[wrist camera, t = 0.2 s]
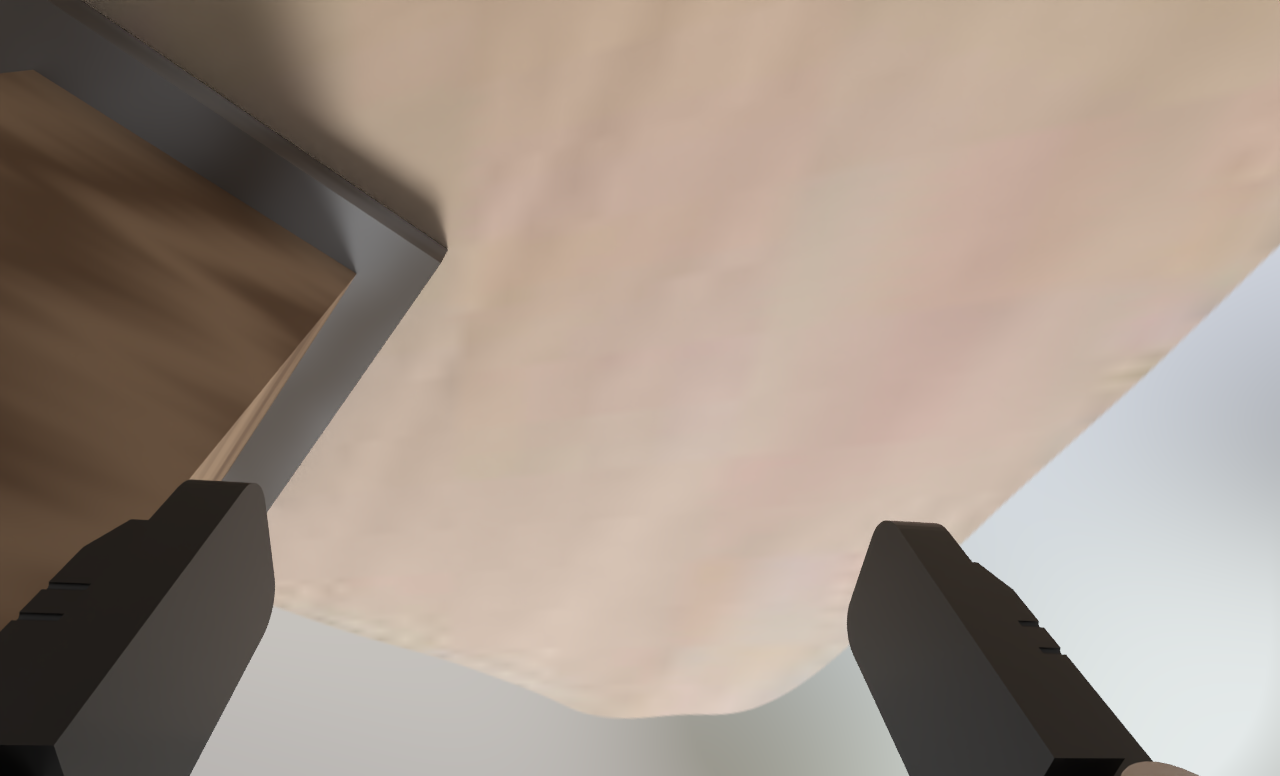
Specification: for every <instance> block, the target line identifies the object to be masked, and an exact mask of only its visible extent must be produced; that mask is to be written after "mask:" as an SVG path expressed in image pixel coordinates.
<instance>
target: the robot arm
mask: <svg viewBox="0 0 1280 776" xmlns="http://www.w3.org/2000/svg"><path fill="white" fill-rule="evenodd" d="M274 594H275V579H274V570H273V562H272V553H271V545H270V537H269V528H268V520H267V512H266V503H265V497H264V493H263V490H262V488H261V487H260V486H259V484H257V483H245V482H228V481H210V480H193V479H190V480H186V481H185V482H183V483H182V484H181V485H180V486H179V487H178V488H177V489H176V490H175V491H174V492H173V493H172V494H171V495H170V497H169V498H168V499H167V500H166V501H165V502H164V503H163V504H162V505H161V507H160V508H159V509H158V510H157V511H156V512H155V513H154V514H153V515H152V517H151V518H150V519H149V520H138V519H130V520H128V521H127V522H125V523H123V524H122V525H120V526H118V527H116V528H115V529H113V530H111V531H110V532H108V533H106V534H104V535H103V536H101V537H99V538H98V539H96V540H94V541H92V542H91V543H89V544H87V545H86V546H84V547H83V548H82V549H81V550H80V551H79V552H78V553H77V554H76V555H75V556H74V557H73V558H72V559H71V560H70V561H69V562H68V563H67V564H66V565H65V566H64V567H63V568H62V569H61V570H60V571H59V572H58V573H57V574H56V575H55V576H54V577H53V578H52V579H51V580H50V581H49V586H48V588H47V589H41V590H40V591H39V592H38V593H37V594H36V595H35V596H34V598H33V599H32V600H31V601H30V602H29V603H28V604H27V605H26V606H25V607H24V608H23V609H22V610H21V611H20V612H19V617H18V619H17V620H11V621H10V622H9V623H8V624H7V625H6V626H5V627H4V628H3V629H2V630H1V631H0V776H190V774H191V772H192V770H193V768H194V766H195V764H196V762H197V760H198V759H199V757H200V755H201V753H202V751H203V749H204V747H205V745H206V743H207V741H208V740H209V738H210V736H211V734H212V732H213V730H214V728H215V726H216V724H217V722H218V721H219V719H220V717H221V715H222V713H223V711H224V709H225V707H226V705H227V703H228V701H229V700H230V698H231V696H232V694H233V692H234V690H235V688H236V686H237V684H238V682H239V681H240V678H241V677H242V675H243V673H244V671H245V669H246V667H247V665H248V663H249V662H250V660H251V657H252V656H253V654H254V652H255V650H256V648H257V646H258V644H259V643H260V641H261V639H262V637H263V635H264V633H265V630H266V628H267V625H268V623H269V619H270V616H271V612H272V608H273V602H274ZM1038 622H1039V621H1038V620H1037V618H1035V616H1034V615H1033V614H1032V612H1031V611H1030V610H1029V609H1028V608H1027V606H1026V605H1025V604H1024V603H1023V601H1022V600H1021V599H1020V598H1019V596H1018V595H1017V594H1016V593H1015V592H1014V590H1013V589H1011V588H1010V587H1009V586H1008V585H1006V584H1005V583H1004V582H1002V581H1001V580H1000V579H998V578H997V577H995V576H994V575H993V574H992V573H990V572H989V571H988V570H987V569H985V568H984V567H982V566H981V565H980V564H979V563H976V562H972V561H971V560H970V559H969V557H968V556H967V555H966V554H965V552H964V551H963V550H962V548H961V547H960V546H959V545H958V543H957V542H956V541H955V539H954V538H953V537H952V536H951V534H950V533H949V532H948V531H947V529H946V528H945V527H943V526H942V525H940V524H937V523H920V522H903V521H883V522H881V523H880V524H879V525H878V526H877V527H876V529H875V531H874V533H873V536H872V539H871V542H870V545H869V548H868V551H867V554H866V556H865V559H864V562H863V565H862V568H861V571H860V574H859V577H858V580H857V583H856V586H855V589H854V592H853V595H852V598H851V601H850V604H849V608H848V615H847V631H848V638H849V643H850V647H851V650H852V652H853V655H854V657H855V659H856V661H857V664H858V666H859V668H860V670H861V672H862V674H863V676H864V679H865V681H866V683H867V685H868V687H869V689H870V692H871V694H872V696H873V698H874V700H875V702H876V705H877V707H878V709H879V711H880V713H881V715H882V717H883V720H884V722H885V724H886V726H887V728H888V730H889V733H890V735H891V737H892V739H893V741H894V743H895V746H896V748H897V750H898V752H899V754H900V756H901V758H902V761H903V763H904V764H905V767H906V769H907V771H908V774H909V776H1198V775H1196V774H1194V773H1192V772H1189V771H1187V770H1185V769H1182V768H1179V767H1176V766H1173V765H1170V764H1165V763H1160V762H1153V761H1152V760H1151V758H1150V757H1149V756H1148V755H1147V754H1146V752H1145V751H1144V750H1143V749H1142V747H1141V746H1140V745H1139V744H1138V743H1137V742H1136V740H1135V739H1134V738H1133V737H1132V735H1131V734H1130V733H1129V732H1128V730H1127V729H1126V728H1125V727H1124V725H1123V724H1122V723H1121V722H1120V720H1119V719H1118V718H1117V717H1116V716H1115V714H1114V713H1113V712H1112V711H1111V709H1110V708H1109V707H1108V706H1107V705H1106V703H1105V702H1104V701H1103V700H1102V698H1101V697H1100V696H1099V695H1098V693H1097V692H1096V691H1095V690H1094V689H1093V687H1092V686H1091V685H1090V684H1089V682H1088V681H1087V680H1086V679H1085V677H1084V676H1083V675H1082V674H1081V673H1080V671H1079V670H1078V669H1077V668H1076V666H1075V665H1074V664H1073V663H1072V662H1071V660H1070V659H1069V658H1068V657H1067V655H1061V653H1060V647H1059V646H1058V644H1057V643H1056V642H1055V641H1054V639H1053V638H1052V637H1051V636H1050V635H1049V633H1048V632H1047V631H1046V630H1045V628H1041V627H1039V625H1038Z"/></svg>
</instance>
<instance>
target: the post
mask: <svg viewBox="0 0 1280 776" xmlns="http://www.w3.org/2000/svg"><path fill="white" fill-rule="evenodd" d="M447 250H448V249H446V248H445V247H443V246H442V245H440V244H439V243H437V242H436V241H435V240H433V239H432V238H430V237H429V236H427V235H426V234H424V233H423V232H421V231H420V230H418V229H417V228H415V227H414V226H412V225H411V224H410V223H408V222H407V221H405V220H404V219H402V218H401V217H399V216H398V215H396V214H395V213H393V212H392V211H390V210H389V209H387V208H386V207H384V206H383V205H382V204H380V203H379V202H377V201H376V200H374V199H373V198H371V197H370V196H368V195H367V194H365V193H364V192H362V191H361V190H359V189H358V188H357V187H355V186H354V185H352V184H351V183H349V182H348V181H346V180H345V179H343V178H342V177H340V176H339V175H337V174H336V173H334V172H333V171H331V170H330V169H329V168H327V167H326V166H324V165H323V164H321V163H320V162H318V161H317V160H315V159H314V158H312V157H311V156H309V155H308V154H306V153H305V152H303V151H302V150H301V149H299V148H298V147H296V146H295V145H293V144H292V143H290V142H289V141H287V140H286V139H284V138H283V137H281V136H280V135H278V134H277V133H276V132H274V131H273V130H271V129H270V128H268V127H267V126H265V125H264V124H262V123H261V122H259V121H258V120H256V119H255V118H253V117H252V116H250V115H249V114H248V113H246V112H245V111H243V110H242V109H240V108H239V107H237V106H236V105H234V104H233V103H231V102H230V101H228V100H227V99H225V98H224V97H222V96H221V95H220V94H218V93H217V92H215V91H214V90H212V89H211V88H209V87H208V86H206V85H205V84H203V83H202V82H200V81H199V80H197V79H196V78H195V77H193V76H192V75H190V74H189V73H187V72H186V71H184V70H183V69H181V68H180V67H178V66H177V65H175V64H174V63H172V62H171V61H169V60H168V59H167V58H165V57H164V56H162V55H161V54H159V53H158V52H156V51H155V50H153V49H152V48H150V47H149V46H147V45H146V44H144V43H143V42H142V41H140V40H139V39H137V38H136V37H134V36H133V35H131V34H130V33H128V32H127V31H125V30H124V29H122V28H121V27H119V26H118V25H116V24H115V23H114V22H112V21H111V20H109V19H108V18H106V17H105V16H103V15H102V14H100V13H99V12H97V11H96V10H94V9H93V8H91V7H90V6H88V5H87V4H86V3H84V2H83V1H81V0H0V631H1V630H2V629H3V628H4V627H5V626H6V625H7V624H8V623H9V622H10V621H11V620H17V619H18V617H19V612H20V611H21V610H22V609H23V608H24V607H25V606H26V605H27V604H28V603H29V602H30V601H31V600H32V599H33V598H34V596H35V595H36V594H37V593H38V592H39V591H40V590H41V589H47V588H48V586H49V581H50V580H51V579H52V578H53V577H54V576H55V575H56V574H57V573H58V572H59V571H60V570H61V569H62V568H63V567H64V566H65V565H66V564H67V563H68V562H69V561H70V560H71V559H72V558H73V557H74V556H75V555H76V554H77V553H78V552H79V551H80V550H81V549H82V548H83V547H84V546H86V545H87V544H89V543H91V542H92V541H94V540H96V539H98V538H99V537H101V536H103V535H104V534H106V533H108V532H110V531H111V530H113V529H115V528H116V527H118V526H120V525H122V524H123V523H125V522H127V521H128V520H130V519H138V520H149V519H150V518H151V517H152V515H153V514H154V513H155V512H156V511H157V510H158V509H159V508H160V507H161V505H162V504H163V503H164V502H165V501H166V500H167V499H168V498H169V497H170V495H171V494H172V493H173V492H174V491H175V490H176V489H177V488H178V487H179V486H180V485H181V484H182V483H183V482H185V481H186V480H190V479H193V480H210V481H228V482H245V483H257V484H259V486H260V487H261V488H262V490H263V493H264V497H265V503H266V512H267V511H268V510H269V509H270V507H271V506H272V504H273V503H274V501H275V500H276V499H277V497H278V496H279V494H280V493H281V491H282V490H283V489H284V487H285V486H286V484H287V483H288V481H289V480H290V479H291V477H292V476H293V474H294V473H295V471H296V470H297V468H298V467H299V466H300V464H301V463H302V461H303V460H304V458H305V457H306V456H307V454H308V453H309V451H310V450H311V448H312V447H313V446H314V444H315V443H316V441H317V440H318V438H319V437H320V436H321V434H322V433H323V431H324V430H325V428H326V427H327V426H328V424H329V423H330V421H331V420H332V418H333V417H334V415H335V414H336V413H337V411H338V410H339V408H340V407H341V405H342V404H343V403H344V401H345V400H346V398H347V397H348V395H349V394H350V393H351V391H352V390H353V388H354V387H355V385H356V384H357V383H358V381H359V380H360V378H361V377H362V375H363V374H364V372H365V371H366V370H367V368H368V367H369V365H370V364H371V362H372V361H373V360H374V358H375V357H376V355H377V354H378V352H379V351H380V350H381V348H382V347H383V345H384V344H385V342H386V341H387V340H388V338H389V337H390V335H391V334H392V332H393V331H394V329H395V328H396V327H397V325H398V324H399V322H400V321H401V319H402V318H403V317H404V315H405V314H406V312H407V311H408V309H409V308H410V307H411V305H412V304H413V302H414V301H415V299H416V298H417V297H418V295H419V294H420V292H421V291H422V289H423V288H424V286H425V285H426V284H427V282H428V281H429V279H430V278H431V276H432V275H433V274H434V272H435V271H436V269H437V268H438V266H439V265H440V264H441V262H442V260H443V258H444V256H445V254H446V252H447Z"/></svg>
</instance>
